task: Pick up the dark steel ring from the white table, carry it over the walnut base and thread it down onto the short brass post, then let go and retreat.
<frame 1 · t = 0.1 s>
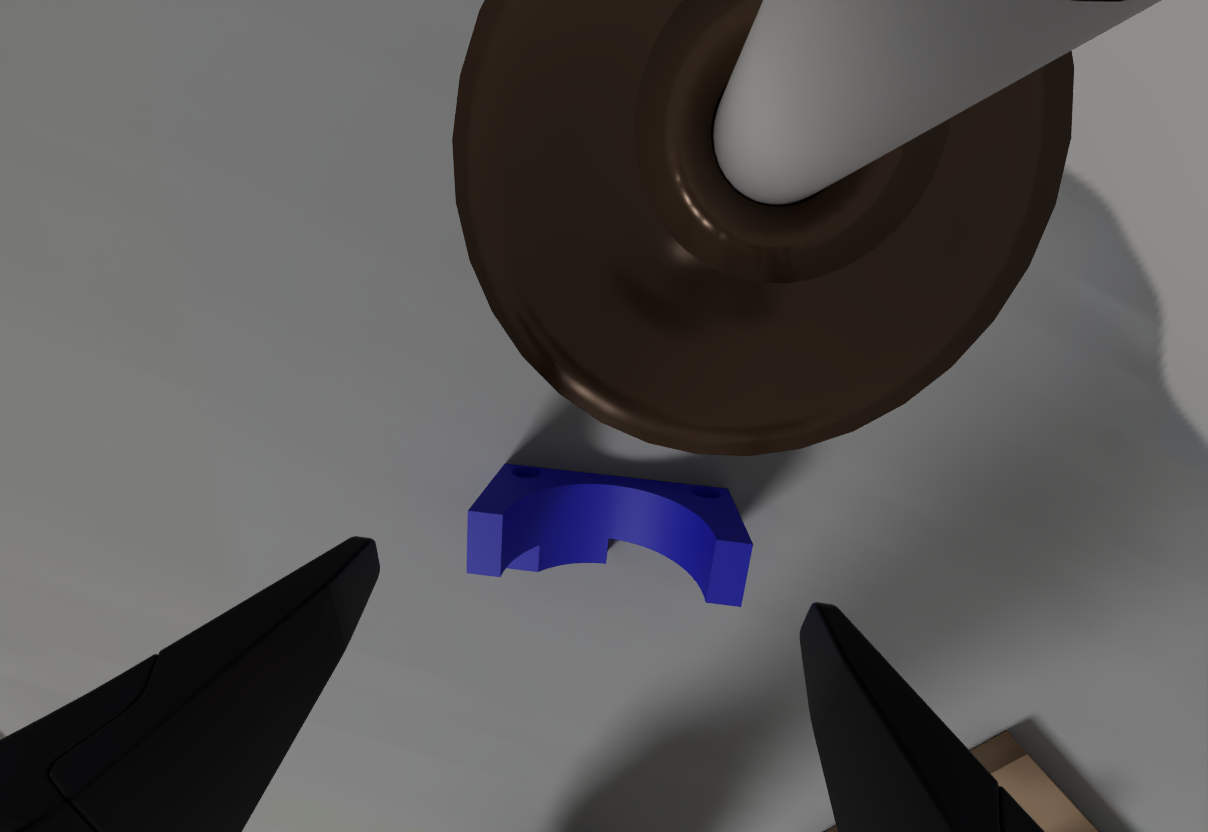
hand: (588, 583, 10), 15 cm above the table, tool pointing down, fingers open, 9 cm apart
candlestick: (680, 245, 23), on the table
cable clip: (611, 511, 27), on the table
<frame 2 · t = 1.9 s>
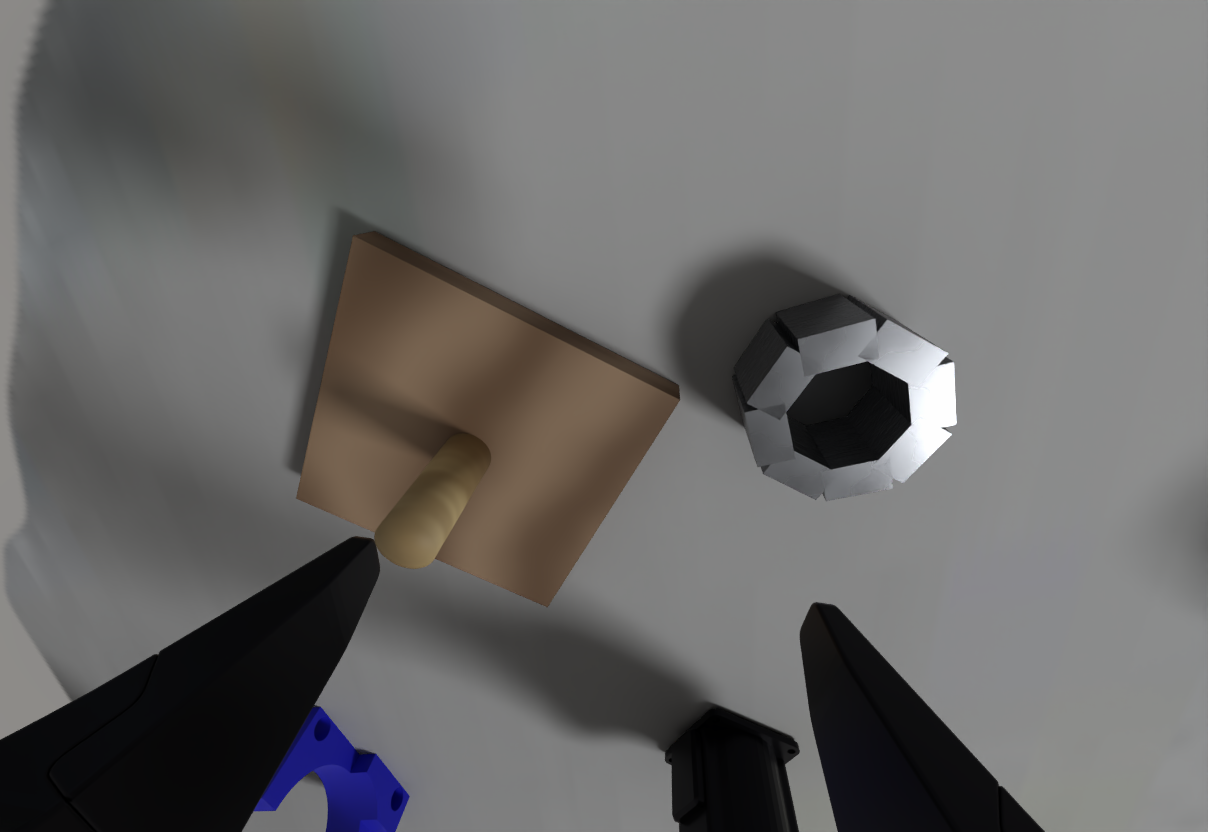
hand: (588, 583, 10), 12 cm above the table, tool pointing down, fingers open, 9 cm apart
post block: (478, 438, 23), on the table
ring: (819, 380, 20), on the table
cable clip: (354, 749, 38), on the table
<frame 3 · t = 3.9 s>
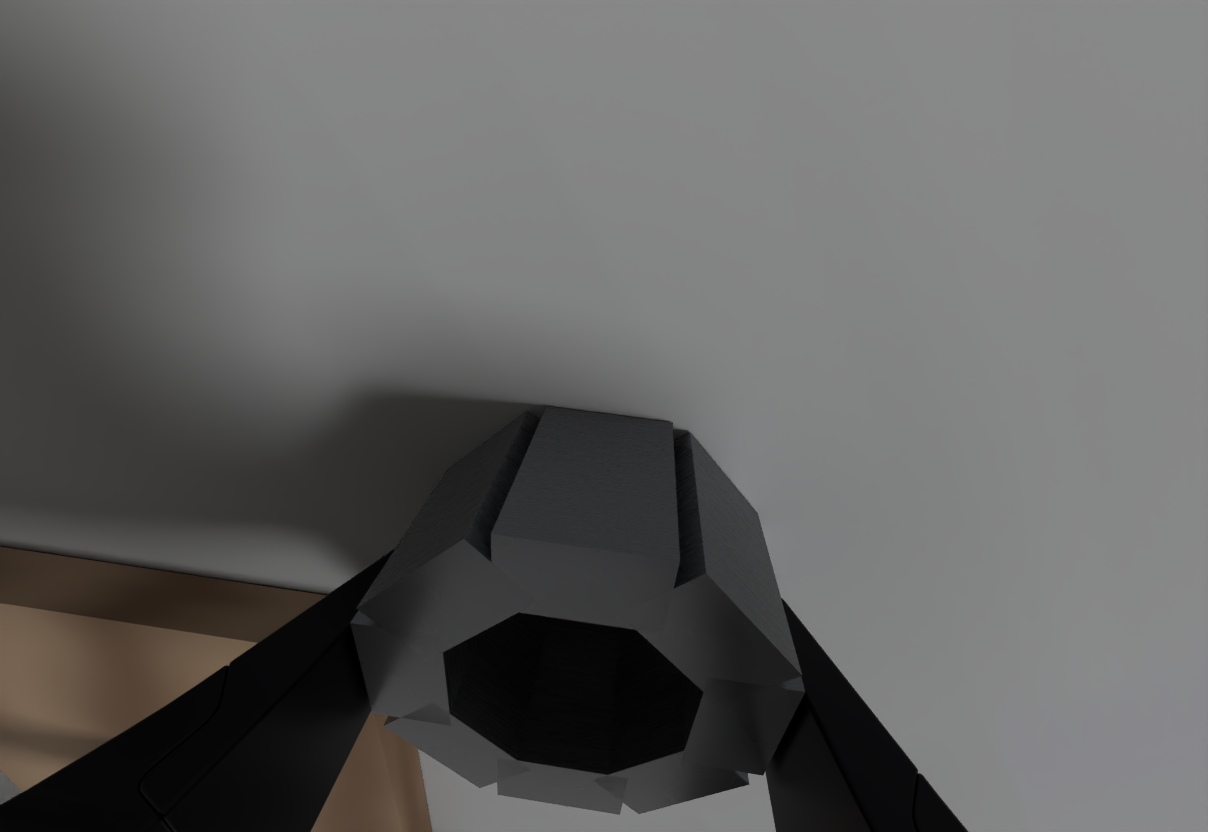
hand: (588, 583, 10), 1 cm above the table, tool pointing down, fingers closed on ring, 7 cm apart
post block: (213, 716, 16), on the table
ring: (594, 546, 11), on the table, touching gripper
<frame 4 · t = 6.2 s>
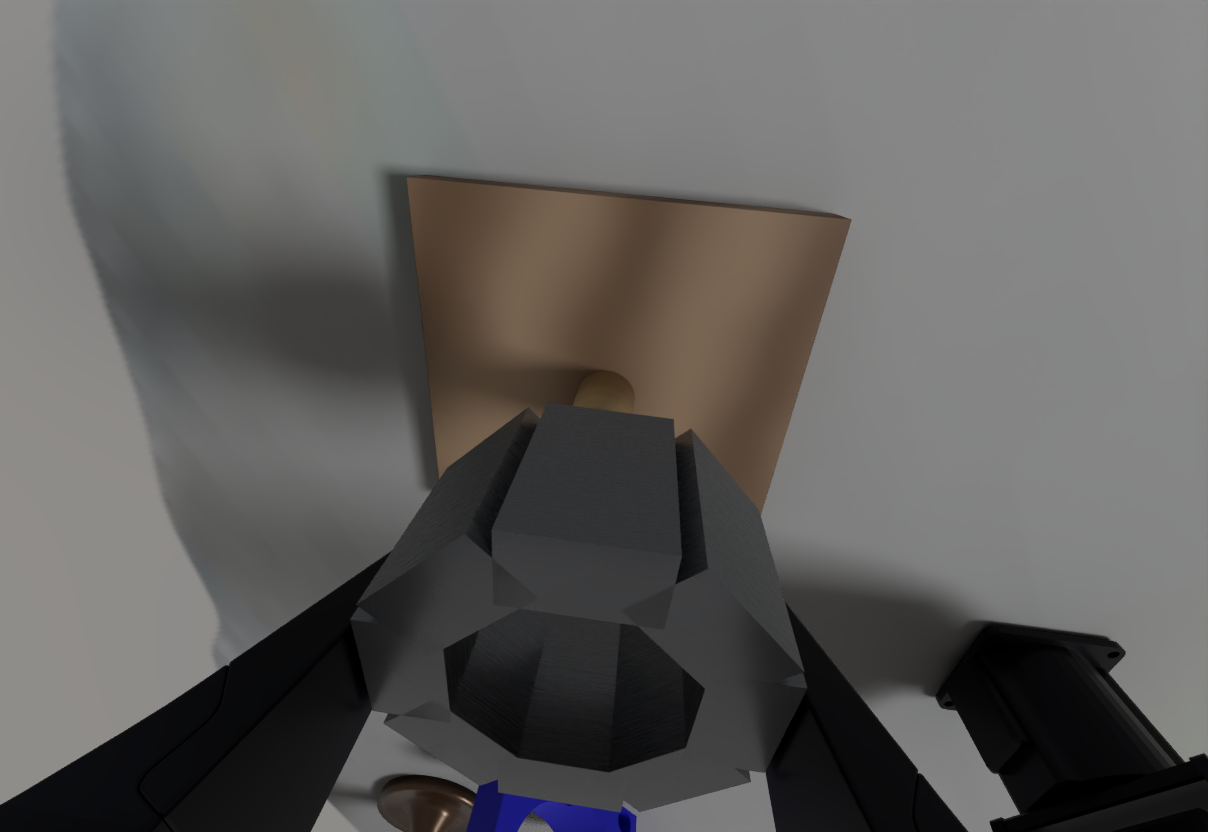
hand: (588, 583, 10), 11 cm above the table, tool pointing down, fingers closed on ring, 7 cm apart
post block: (609, 380, 20), on the table
ring: (594, 544, 11), point 10 cm above the table, touching gripper
candlestick: (437, 801, 40), on the table
cable clip: (564, 782, 37), on the table
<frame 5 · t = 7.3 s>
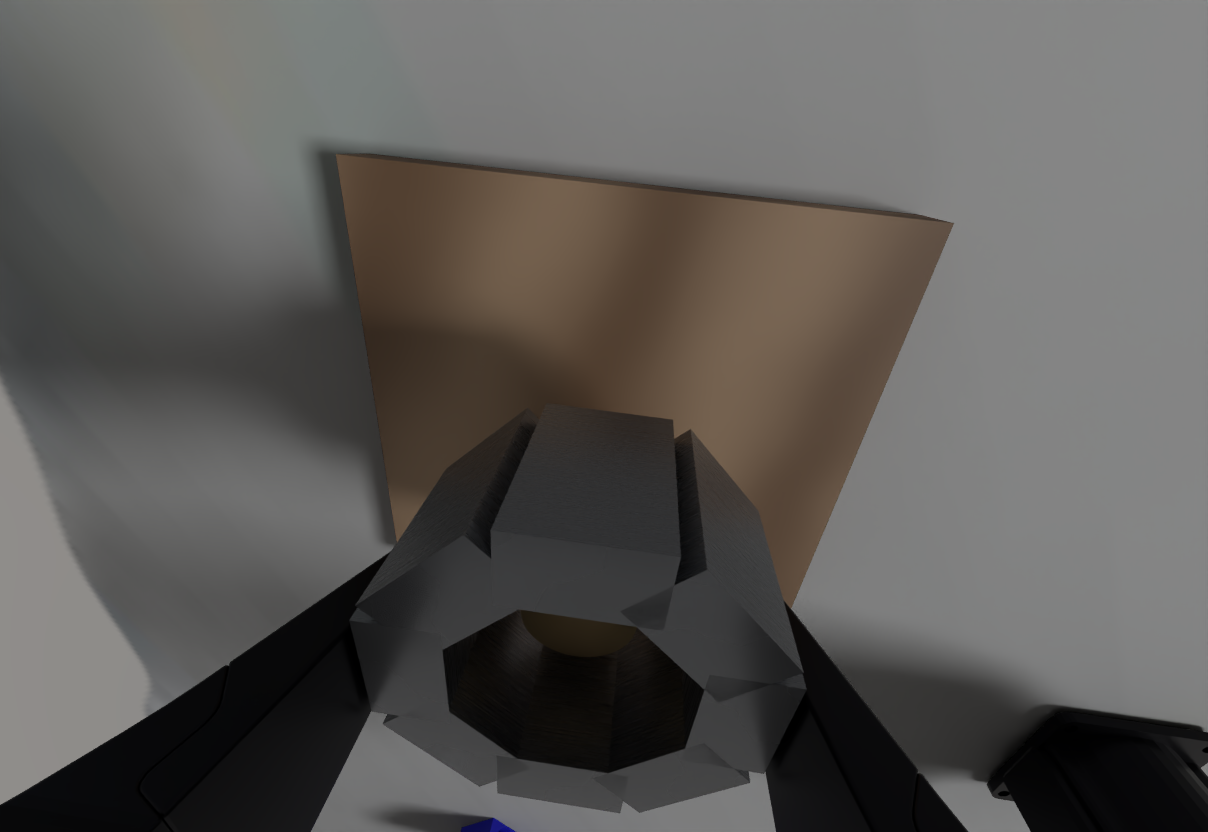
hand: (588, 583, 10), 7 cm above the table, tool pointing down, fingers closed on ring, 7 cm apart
post block: (611, 422, 16), on the table
ring: (594, 544, 11), point 6 cm above the table, touching gripper
when the fingers open (4 cm above the table, at t = 8.4 s): ring drops 1 cm, resting on post block.
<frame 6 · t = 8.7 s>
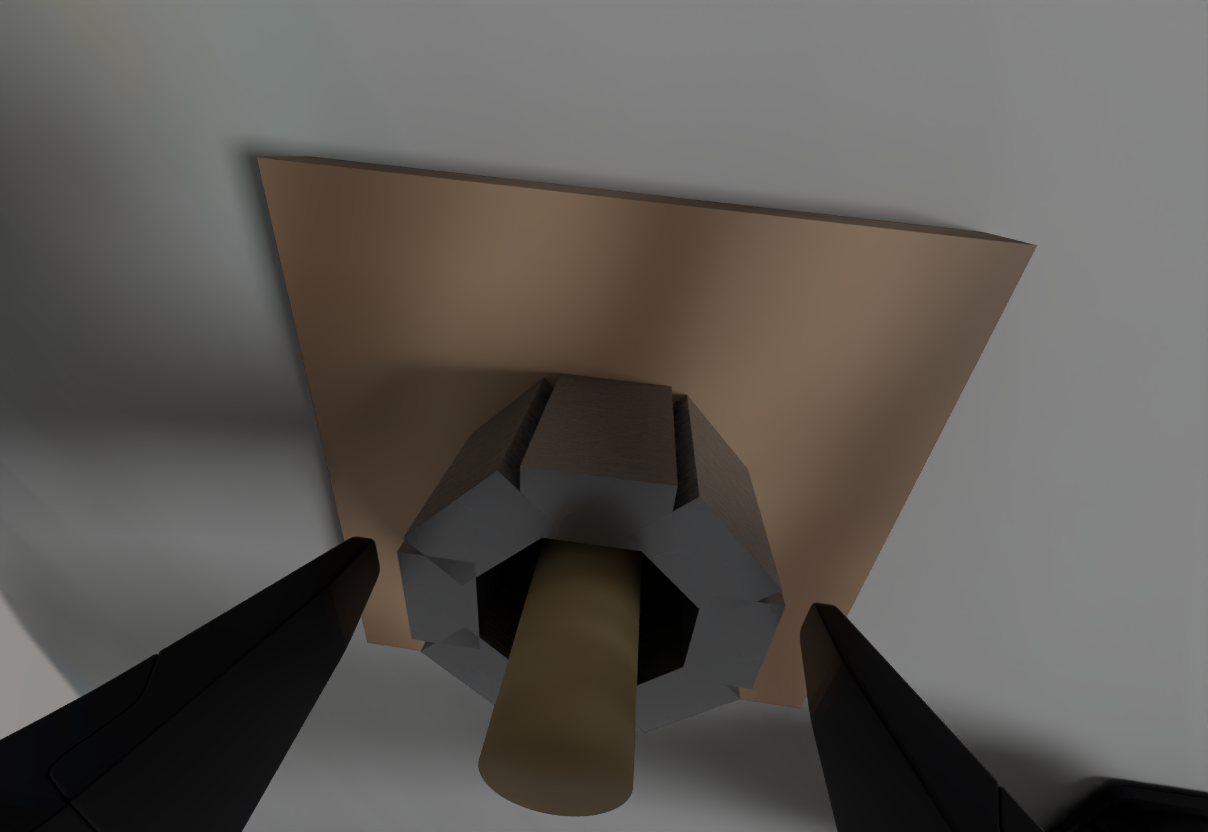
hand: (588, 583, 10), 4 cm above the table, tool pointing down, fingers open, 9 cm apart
post block: (605, 470, 13), on the table
ring: (602, 503, 12), point 1 cm above the table, touching post block
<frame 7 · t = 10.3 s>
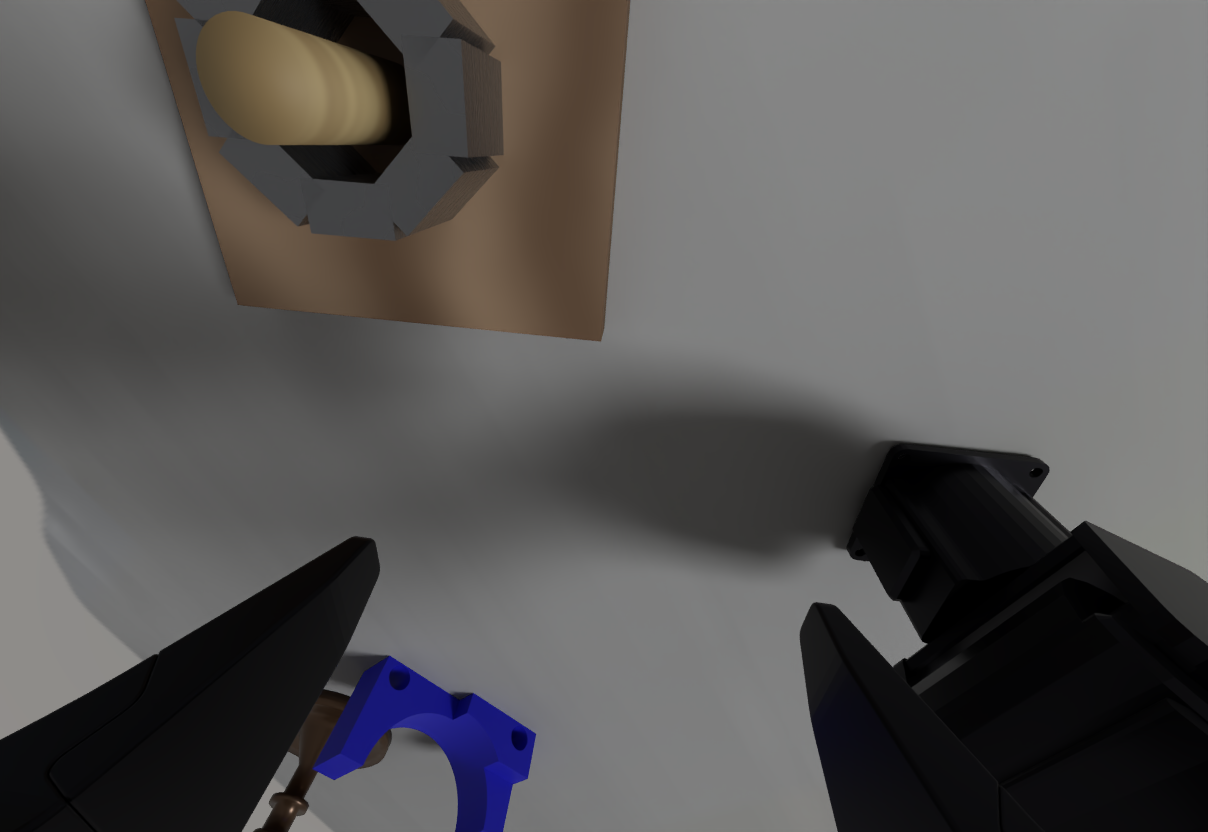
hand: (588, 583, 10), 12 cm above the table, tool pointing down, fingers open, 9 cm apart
post block: (411, 107, 16), on the table
ring: (392, 101, 15), point 1 cm above the table, touching post block
candlestick: (333, 721, 36), on the table
cable clip: (454, 698, 34), on the table
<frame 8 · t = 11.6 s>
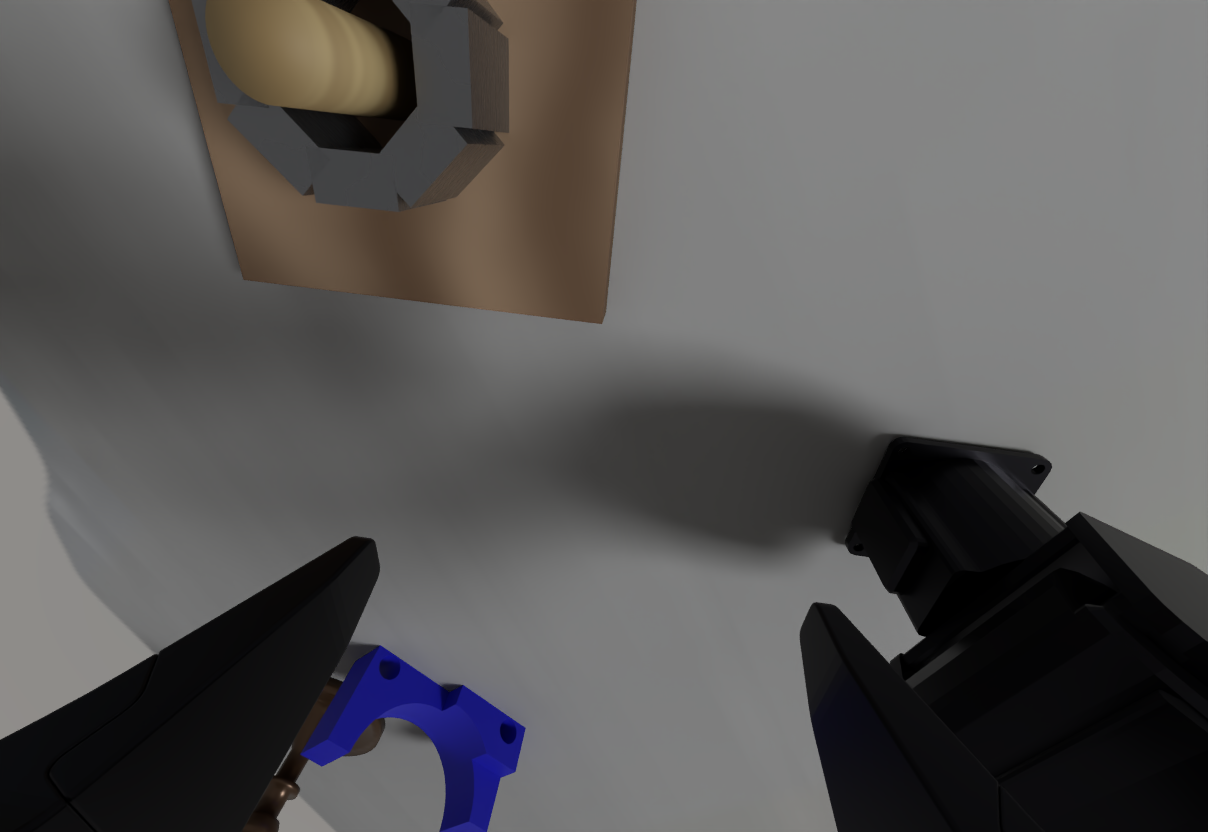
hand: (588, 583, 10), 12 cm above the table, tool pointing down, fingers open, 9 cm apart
post block: (420, 85, 16), on the table
ring: (401, 77, 15), point 1 cm above the table, touching post block
candlestick: (327, 707, 36), on the table
cable clip: (445, 690, 34), on the table
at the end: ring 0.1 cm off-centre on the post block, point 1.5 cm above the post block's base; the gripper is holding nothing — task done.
